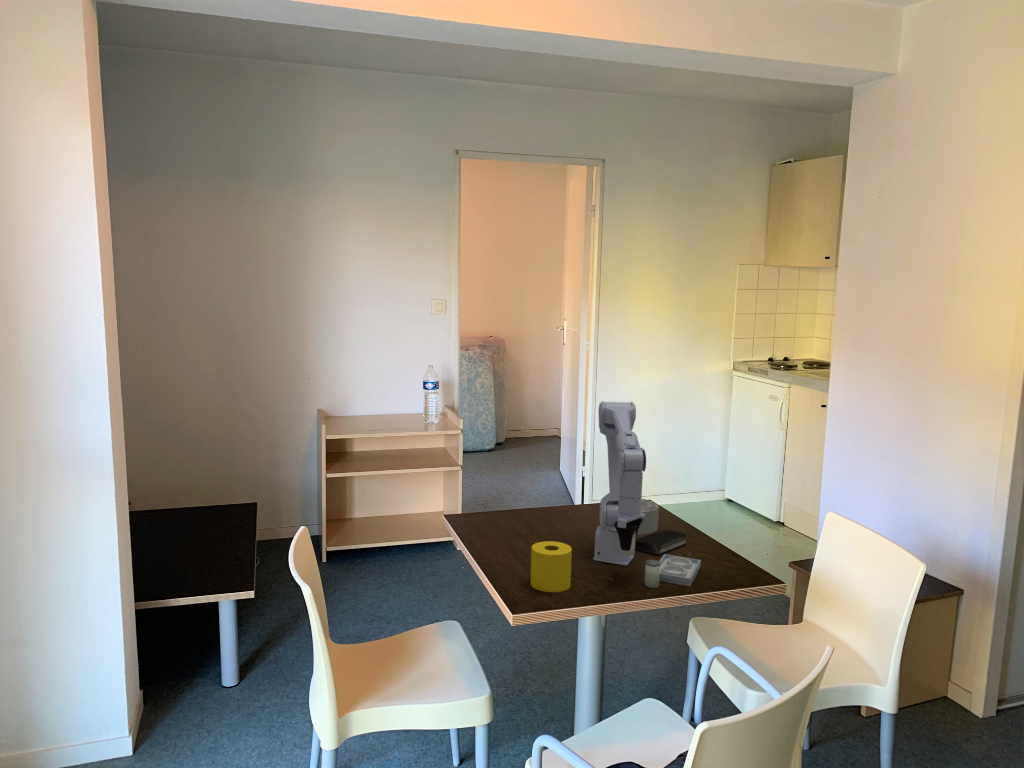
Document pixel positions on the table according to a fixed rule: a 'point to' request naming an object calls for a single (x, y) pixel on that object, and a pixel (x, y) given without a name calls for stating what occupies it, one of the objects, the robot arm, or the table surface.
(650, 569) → the pale green lidded jar
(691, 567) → the tray
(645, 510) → the lumpy-topped squat cylinder
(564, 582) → the yellow cylinder with hole
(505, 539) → the table surface
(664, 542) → the black sponge
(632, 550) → the jaw peg ivory
